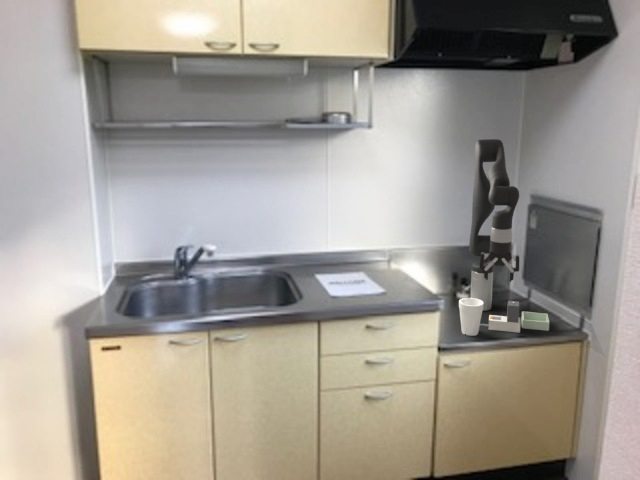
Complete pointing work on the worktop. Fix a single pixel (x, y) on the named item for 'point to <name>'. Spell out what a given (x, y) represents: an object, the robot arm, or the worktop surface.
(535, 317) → the tray
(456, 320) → the worktop surface
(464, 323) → the foam cup
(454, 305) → the worktop surface
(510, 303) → the block
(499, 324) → the power strip
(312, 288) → the worktop surface
